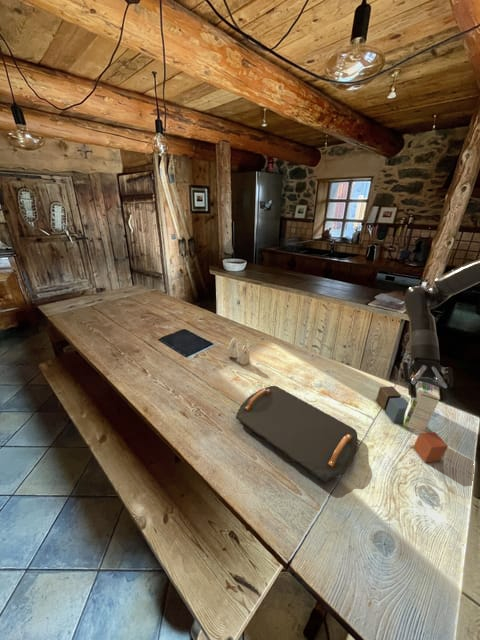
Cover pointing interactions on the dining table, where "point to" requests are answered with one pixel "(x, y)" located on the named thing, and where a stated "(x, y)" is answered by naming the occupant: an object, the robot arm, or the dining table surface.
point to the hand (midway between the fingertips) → (427, 399)
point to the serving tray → (300, 431)
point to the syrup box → (421, 406)
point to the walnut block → (386, 396)
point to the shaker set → (234, 352)
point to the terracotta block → (430, 447)
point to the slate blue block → (396, 409)
